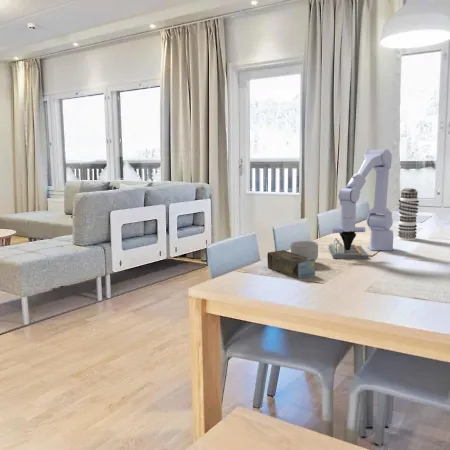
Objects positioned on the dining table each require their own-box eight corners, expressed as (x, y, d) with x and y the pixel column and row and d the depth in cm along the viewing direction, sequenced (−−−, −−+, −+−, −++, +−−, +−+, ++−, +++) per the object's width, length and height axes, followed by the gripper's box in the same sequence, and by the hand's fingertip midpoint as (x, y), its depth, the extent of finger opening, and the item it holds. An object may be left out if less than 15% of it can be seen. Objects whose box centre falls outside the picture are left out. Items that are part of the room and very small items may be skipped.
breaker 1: (338, 245, 205) (338, 238, 205) (339, 247, 202) (339, 239, 201) (333, 245, 206) (333, 238, 205) (333, 247, 202) (334, 239, 202)
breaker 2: (340, 248, 199) (340, 241, 199) (341, 250, 196) (341, 242, 195) (334, 248, 199) (334, 240, 199) (335, 250, 196) (335, 242, 195)
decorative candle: (411, 241, 224) (414, 189, 220) (393, 238, 231) (395, 188, 227) (420, 238, 230) (423, 188, 226) (402, 236, 237) (405, 187, 233)
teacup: (317, 266, 175) (318, 245, 174) (289, 265, 177) (289, 245, 176) (317, 258, 189) (318, 239, 187) (291, 257, 191) (291, 238, 190)
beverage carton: (297, 279, 158) (298, 260, 157) (266, 268, 174) (266, 251, 174) (315, 276, 162) (316, 257, 161) (283, 265, 178) (283, 248, 177)
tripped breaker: (342, 251, 193) (343, 243, 192) (343, 253, 189) (344, 245, 189) (337, 251, 193) (337, 243, 192) (337, 253, 189) (338, 245, 189)
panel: (360, 249, 206) (360, 244, 206) (368, 259, 186) (368, 253, 186) (328, 248, 208) (328, 243, 208) (333, 258, 188) (333, 252, 188)
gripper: (360, 215, 194) (359, 247, 196) (327, 216, 191) (326, 248, 193) (368, 217, 187) (367, 250, 189) (334, 218, 184) (333, 252, 186)
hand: (347, 249), depth 190 cm, fingers closed
